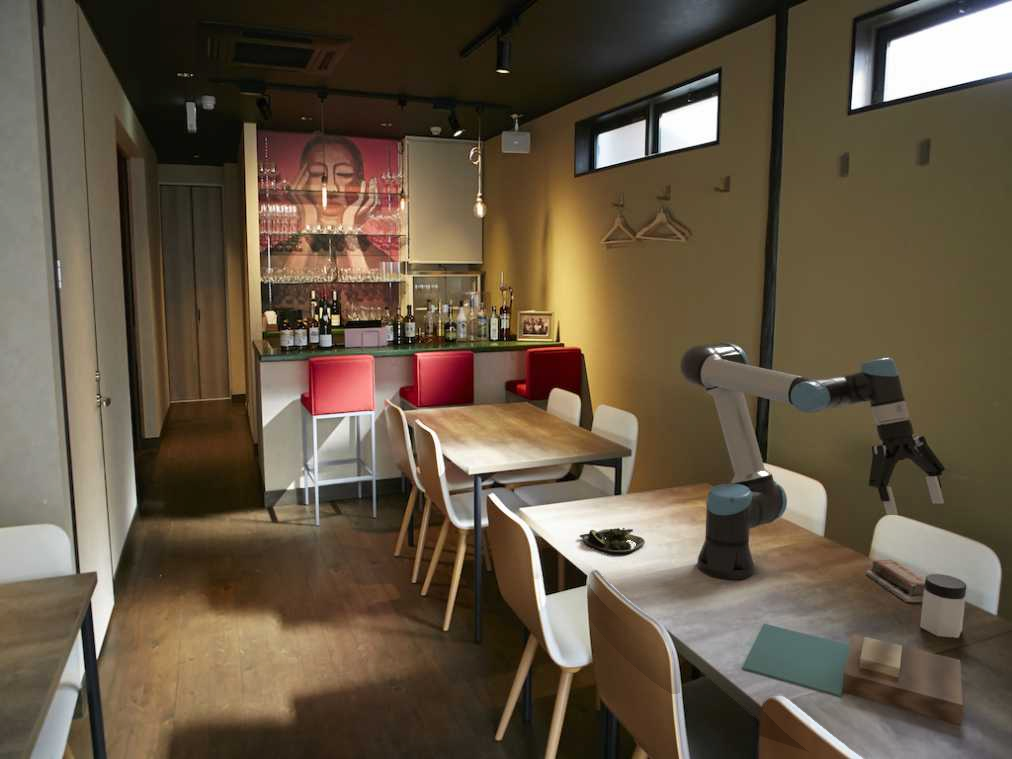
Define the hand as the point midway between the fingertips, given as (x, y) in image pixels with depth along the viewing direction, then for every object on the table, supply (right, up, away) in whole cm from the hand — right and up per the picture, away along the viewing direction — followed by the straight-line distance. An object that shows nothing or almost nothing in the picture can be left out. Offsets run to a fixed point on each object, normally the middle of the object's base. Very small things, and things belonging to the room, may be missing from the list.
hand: (915, 509), depth 169 cm
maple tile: (-21, -27, -24) cm, 42 cm away
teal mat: (-34, -29, -15) cm, 48 cm away
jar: (+4, -28, -2) cm, 28 cm away
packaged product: (+8, -25, +20) cm, 33 cm away
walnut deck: (-18, -31, -25) cm, 44 cm away
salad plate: (-65, -20, +49) cm, 84 cm away
